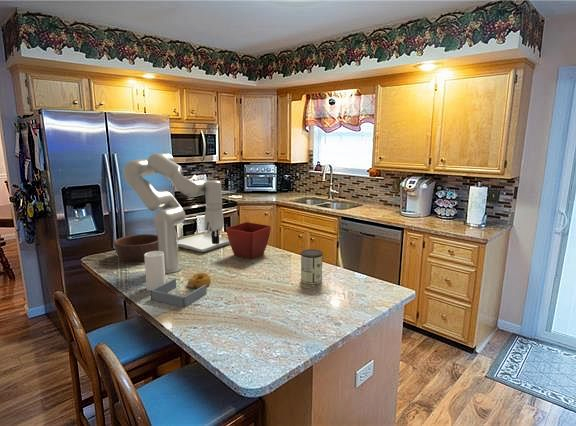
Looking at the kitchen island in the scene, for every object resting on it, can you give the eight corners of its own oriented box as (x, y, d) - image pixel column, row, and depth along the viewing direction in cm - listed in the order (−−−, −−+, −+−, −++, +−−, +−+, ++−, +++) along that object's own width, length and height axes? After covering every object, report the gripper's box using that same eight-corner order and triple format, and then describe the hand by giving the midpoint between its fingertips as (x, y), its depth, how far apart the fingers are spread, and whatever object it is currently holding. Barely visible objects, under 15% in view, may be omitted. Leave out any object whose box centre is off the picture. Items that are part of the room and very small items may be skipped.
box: (150, 299, 154) (150, 290, 153) (174, 286, 167) (174, 278, 167) (184, 307, 147) (183, 297, 146) (206, 293, 160) (206, 284, 160)
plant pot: (252, 262, 202) (251, 232, 199) (225, 256, 212) (225, 228, 209) (271, 253, 218) (271, 225, 215) (246, 248, 228) (246, 221, 225)
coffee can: (305, 275, 183) (305, 248, 181) (324, 278, 179) (325, 250, 176) (297, 282, 174) (297, 253, 171) (317, 285, 170) (318, 256, 167)
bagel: (183, 284, 171) (183, 274, 170) (205, 279, 177) (205, 270, 176) (192, 291, 163) (191, 281, 162) (214, 285, 169) (214, 276, 168)
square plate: (202, 255, 214) (202, 249, 214) (171, 247, 229) (171, 241, 228) (233, 244, 237) (233, 238, 236) (203, 238, 251) (203, 232, 251)
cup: (169, 285, 169) (167, 252, 166) (157, 292, 162) (155, 257, 158) (154, 282, 172) (152, 250, 169) (142, 289, 164) (140, 255, 161)
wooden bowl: (170, 256, 211) (169, 239, 209) (128, 267, 193) (126, 248, 191) (148, 248, 227) (147, 231, 225) (107, 257, 209) (106, 239, 207)
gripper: (216, 203, 183) (218, 239, 187) (197, 208, 170) (199, 246, 173) (229, 204, 180) (230, 240, 184) (211, 209, 167) (213, 248, 170)
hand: (215, 243), depth 179 cm, fingers closed
